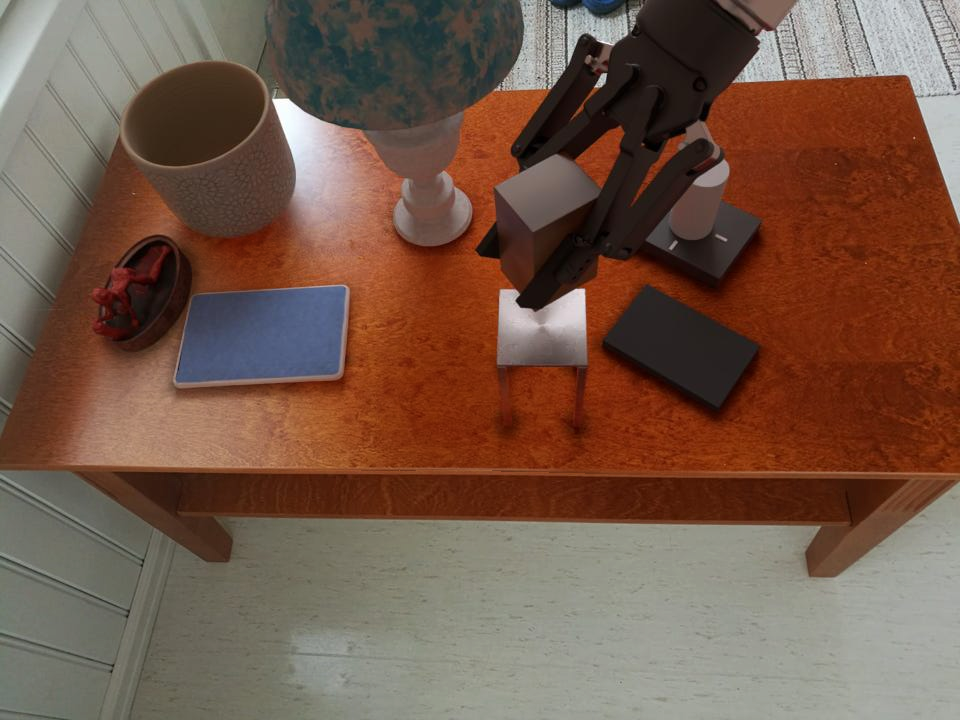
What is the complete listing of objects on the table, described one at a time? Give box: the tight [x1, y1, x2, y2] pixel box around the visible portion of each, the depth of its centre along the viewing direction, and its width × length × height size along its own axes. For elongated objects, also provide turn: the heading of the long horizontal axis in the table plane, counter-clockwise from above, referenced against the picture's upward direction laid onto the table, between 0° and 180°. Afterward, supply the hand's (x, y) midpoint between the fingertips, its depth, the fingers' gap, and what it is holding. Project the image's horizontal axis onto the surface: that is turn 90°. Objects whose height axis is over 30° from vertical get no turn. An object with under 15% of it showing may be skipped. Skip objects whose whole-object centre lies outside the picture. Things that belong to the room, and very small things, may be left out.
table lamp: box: [264, 0, 525, 247], centre depth 74 cm, size 24×24×40 cm
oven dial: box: [669, 158, 731, 240], centre depth 82 cm, size 5×5×9 cm
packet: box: [493, 150, 602, 312], centre depth 55 cm, size 5×6×10 cm
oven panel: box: [638, 199, 763, 290], centre depth 87 cm, size 13×10×2 cm
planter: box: [118, 59, 297, 239], centre depth 88 cm, size 17×17×15 cm
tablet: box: [172, 284, 351, 390], centre depth 85 cm, size 19×13×1 cm, turn 91°
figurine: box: [90, 233, 193, 353], centre depth 86 cm, size 15×10×10 cm, turn 4°
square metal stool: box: [496, 288, 589, 428], centre depth 73 cm, size 8×8×14 cm
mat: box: [601, 283, 761, 413], centre depth 80 cm, size 14×9×1 cm, turn 53°
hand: (508, 279), depth 57 cm, fingers closed on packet, 5 cm apart
